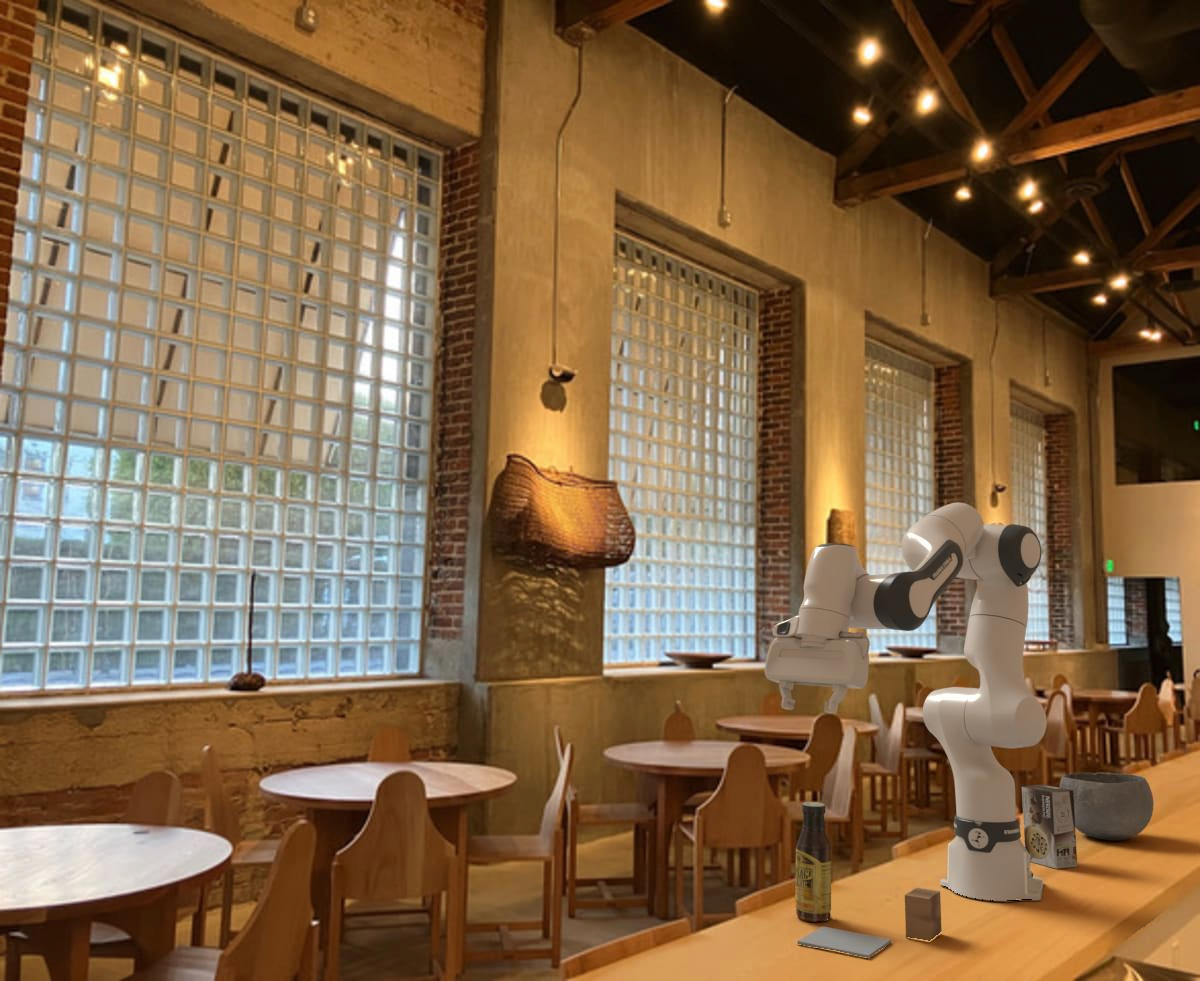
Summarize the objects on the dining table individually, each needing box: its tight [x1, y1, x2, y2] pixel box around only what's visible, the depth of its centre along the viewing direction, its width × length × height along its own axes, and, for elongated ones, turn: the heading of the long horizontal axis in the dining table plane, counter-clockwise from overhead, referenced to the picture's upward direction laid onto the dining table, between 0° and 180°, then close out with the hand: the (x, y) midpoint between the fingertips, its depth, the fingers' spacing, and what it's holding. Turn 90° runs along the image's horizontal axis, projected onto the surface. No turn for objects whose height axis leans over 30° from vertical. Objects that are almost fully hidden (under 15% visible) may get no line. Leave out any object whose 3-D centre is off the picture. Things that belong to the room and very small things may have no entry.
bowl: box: [1058, 771, 1154, 841], centre depth 252 cm, size 20×20×15 cm
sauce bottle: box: [794, 801, 832, 923], centre depth 184 cm, size 7×6×20 cm
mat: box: [797, 926, 892, 958], centre depth 169 cm, size 10×12×1 cm
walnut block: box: [904, 887, 942, 941], centre depth 174 cm, size 6×4×7 cm, turn 144°
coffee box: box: [1021, 784, 1078, 870], centre depth 226 cm, size 9×6×16 cm
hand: (808, 710), depth 175 cm, fingers open, 8 cm apart
